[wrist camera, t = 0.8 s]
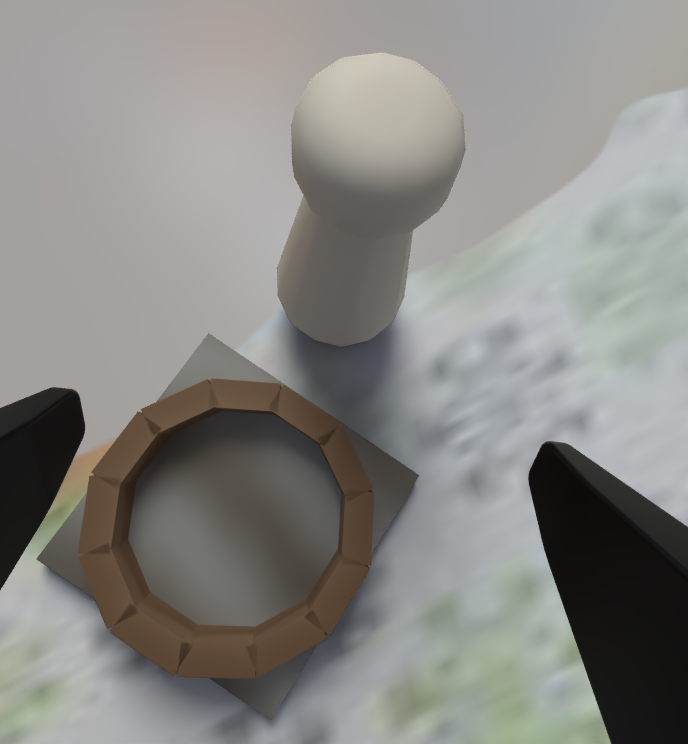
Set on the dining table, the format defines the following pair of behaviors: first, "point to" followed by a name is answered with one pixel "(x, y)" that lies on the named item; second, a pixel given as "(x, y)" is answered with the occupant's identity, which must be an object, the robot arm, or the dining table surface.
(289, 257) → the salt shaker
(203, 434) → the stand
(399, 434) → the dining table surface
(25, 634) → the dining table surface
